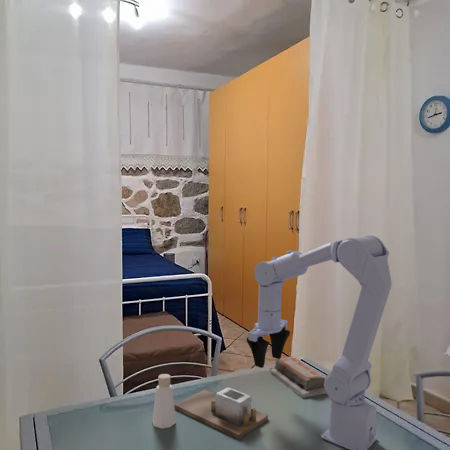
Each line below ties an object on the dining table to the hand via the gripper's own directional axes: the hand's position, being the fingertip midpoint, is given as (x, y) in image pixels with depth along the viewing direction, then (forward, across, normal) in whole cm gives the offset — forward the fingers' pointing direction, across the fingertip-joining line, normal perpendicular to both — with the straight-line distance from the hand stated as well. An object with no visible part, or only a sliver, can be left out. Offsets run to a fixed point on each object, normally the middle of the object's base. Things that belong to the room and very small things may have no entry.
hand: (268, 362), depth 110 cm
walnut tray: (+10, +12, -5) cm, 17 cm away
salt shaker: (+11, +24, -12) cm, 29 cm away
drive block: (+9, +12, -1) cm, 16 cm away
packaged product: (+11, -16, 0) cm, 20 cm away
